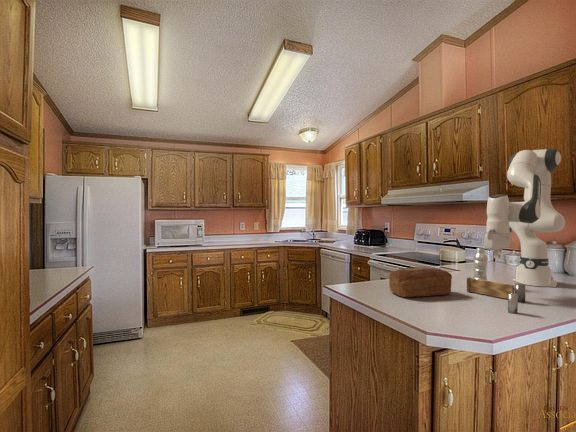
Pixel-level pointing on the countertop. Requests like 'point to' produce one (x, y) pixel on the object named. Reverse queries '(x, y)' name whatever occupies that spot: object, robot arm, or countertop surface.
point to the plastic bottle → (480, 264)
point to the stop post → (512, 303)
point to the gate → (489, 288)
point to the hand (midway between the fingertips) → (497, 258)
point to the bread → (420, 282)
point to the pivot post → (520, 292)
